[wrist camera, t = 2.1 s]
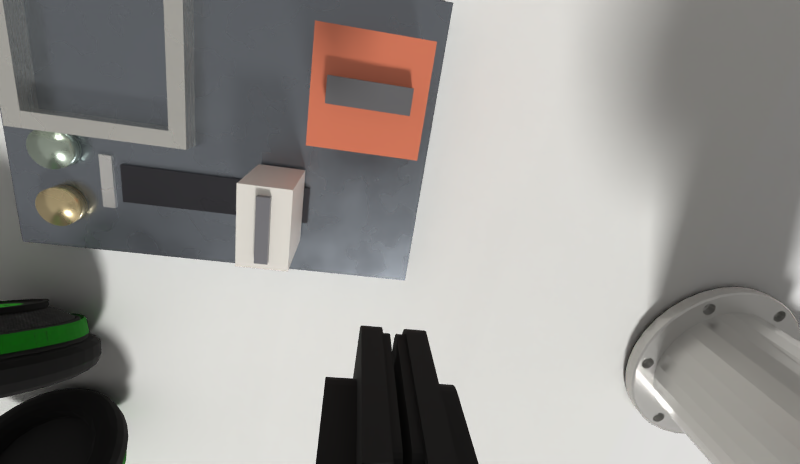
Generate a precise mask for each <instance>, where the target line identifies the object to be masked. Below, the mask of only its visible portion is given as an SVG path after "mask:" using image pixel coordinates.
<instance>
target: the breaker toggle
mask: <svg viewBox="0 0 800 464" xmlns="http://www.w3.org/2000/svg"><path fill="white" fill-rule="evenodd" d="M304 182H305V170H300V169H292V168H285V167H277V166H270V165H262V164H258V165H257V166H256V167H255V168H254V169H252V170H251V171H250V172H249V173H248V174H247V175H245V176H244V177H243V178H242V179H241V180H240V181H239V182H237V188H236V246H235V266H237V267H247V268H257V269H267V270H277V271H286V272H288V270H289V267H290V265H291V262H292V259H293V257H294V254H295V252H296V249H297V247H298V244H299V242H300V236H301V223H302V209H303V196H304Z"/></svg>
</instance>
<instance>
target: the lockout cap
mask: <svg viewBox="0 0 800 464" xmlns="http://www.w3.org/2000/svg"><path fill="white" fill-rule="evenodd" d="M436 45H437V42H436V41H430V40H425V39H419V38H413V37H407V36H402V35H396V34H390V33H385V32H379V31H373V30H367V29H362V28H356V27H350V26H344V25H339V24H333V23H327V22H322V21H316V20H315V26H314V40H313V54H312V67H311V81H310V94H309V108H308V122H307V135H306V145H307V146H314V147H321V148H328V149H336V150H343V151H350V152H357V153H365V154H372V155H379V156H386V157H394V158H401V159H408V160H415V161H417V159H418V153H419V147H420V141H421V135H422V129H423V123H424V117H425V111H426V105H427V99H428V93H429V87H430V81H431V75H432V69H433V63H434V57H435V51H436Z"/></svg>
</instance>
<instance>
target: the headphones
mask: <svg viewBox="0 0 800 464" xmlns="http://www.w3.org/2000/svg"><path fill="white" fill-rule="evenodd" d="M48 306H49V304H48V299H28V300H11V301H0V398H3V397H8V396H12V395H16V394H20V393H23V392H27V391H31V390H35V389H39V388H43V387H46V386H49V385H52V384H55V383H58V382H61V381H64V380H67V379H70V378H73V377H75V376H77V375H79V374H81V373H83V372H85V371H87V370H88V369H90V368H91V367H92V366H94V365H95V364H96V363H97V361H98V359H99V357H100V355H101V341H100V339H99V338H98V337H96V336H95V335H92V334H90V333H88V332H89V328H88V324H87V319H86V317H85V316H84V315H81V314H69V313H67V312H64V311H61V310H59V309H56V308H53V307H48ZM127 442H128V429H127V423H126V420H125V417H124V415H123V413H122V412H121V410H120V409H119V408H118V406H117V405H116V404H115V403H114V402H113V401H112V400H111V399H109V398H108V397H107V396H105V395H103V394H101V393H99V392H96V391H91V390H86V389H63V390H56V391H53V392H49V393H45V394H42V395H39V396H37V397H34V398H32V399H29V400H27V401H25V402H23V403H21V404H19V405H17V406H15V407H14V408H12V409H11V410H9V411H7V412H6V413H4V414H3V415H1V416H0V464H125V461H126V450H127Z"/></svg>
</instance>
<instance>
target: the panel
mask: <svg viewBox="0 0 800 464" xmlns="http://www.w3.org/2000/svg"><path fill="white" fill-rule="evenodd" d="M452 6H453V3H452V2H446V1H441V0H0V111H1V117H2V123H3V129H4V135H5V141H6V146H7V152H8V158H9V164H10V170H11V175H12V181H13V187H14V193H15V199H16V204H17V210H18V216H19V222H20V228H21V234H22V239H23V241H25V242H35V243H44V244H54V245H64V246H74V247H84V248H93V249H103V250H113V251H123V252H132V253H142V254H152V255H162V256H171V257H181V258H191V259H201V260H211V261H220V262H230V263H235V246H236V188H237V182H239V181H240V180H241V179H242V178H243V177H244V176H245V175H247V174H248V173H249V172H250V171H251V170H252V169H254V168H255V167H256V166H257V165H258V164H262V165H270V166H277V167H285V168H292V169H300V170H305V182H304V196H303V209H302V223H301V236H300V242H299V244H298V247H297V249H296V252H295V254H294V257H293V259H292V262H291V265H290V267H289V269H299V270H308V271H318V272H328V273H338V274H347V275H357V276H367V277H377V278H386V279H396V280H405V276H406V271H407V265H408V259H409V253H410V248H411V242H412V236H413V230H414V225H415V219H416V213H417V207H418V202H419V196H420V190H421V184H422V179H423V173H424V167H425V161H426V156H427V150H428V144H429V138H430V133H431V127H432V121H433V115H434V110H435V104H436V98H437V93H438V87H439V81H440V75H441V70H442V64H443V58H444V52H445V47H446V41H447V35H448V29H449V24H450V18H451V12H452ZM315 20H316V21H322V22H327V23H333V24H339V25H344V26H350V27H356V28H362V29H367V30H373V31H379V32H385V33H390V34H396V35H402V36H407V37H413V38H419V39H425V40H430V41H436V42H437V45H436V51H435V57H434V63H433V69H432V75H431V81H430V87H429V93H428V99H427V105H426V111H425V117H424V123H423V129H422V135H421V141H420V147H419V153H418V159H417V161H415V160H408V159H401V158H394V157H386V156H379V155H372V154H365V153H357V152H350V151H343V150H336V149H328V148H321V147H314V146H307V145H306V135H307V122H308V108H309V94H310V81H311V67H312V54H313V40H314V26H315Z"/></svg>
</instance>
